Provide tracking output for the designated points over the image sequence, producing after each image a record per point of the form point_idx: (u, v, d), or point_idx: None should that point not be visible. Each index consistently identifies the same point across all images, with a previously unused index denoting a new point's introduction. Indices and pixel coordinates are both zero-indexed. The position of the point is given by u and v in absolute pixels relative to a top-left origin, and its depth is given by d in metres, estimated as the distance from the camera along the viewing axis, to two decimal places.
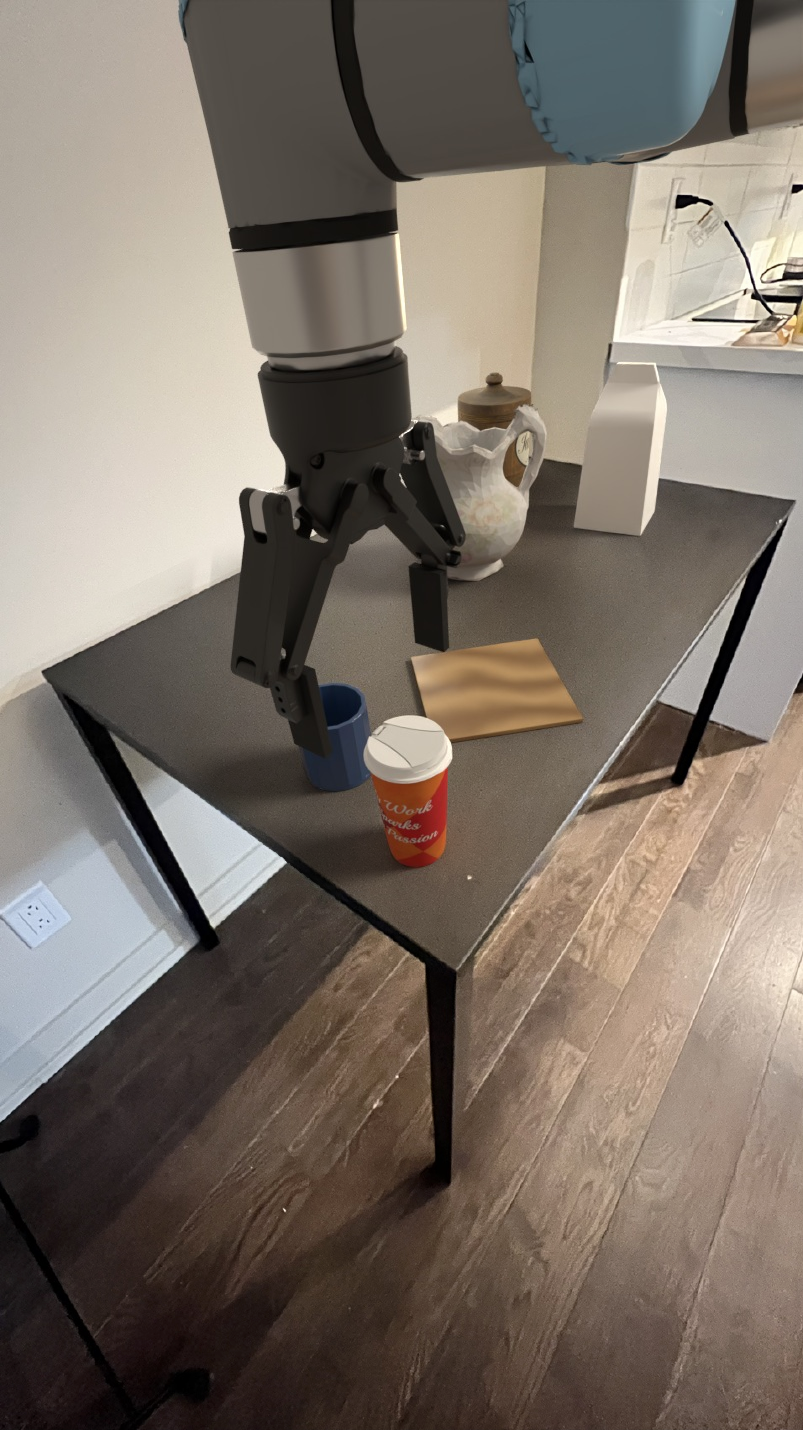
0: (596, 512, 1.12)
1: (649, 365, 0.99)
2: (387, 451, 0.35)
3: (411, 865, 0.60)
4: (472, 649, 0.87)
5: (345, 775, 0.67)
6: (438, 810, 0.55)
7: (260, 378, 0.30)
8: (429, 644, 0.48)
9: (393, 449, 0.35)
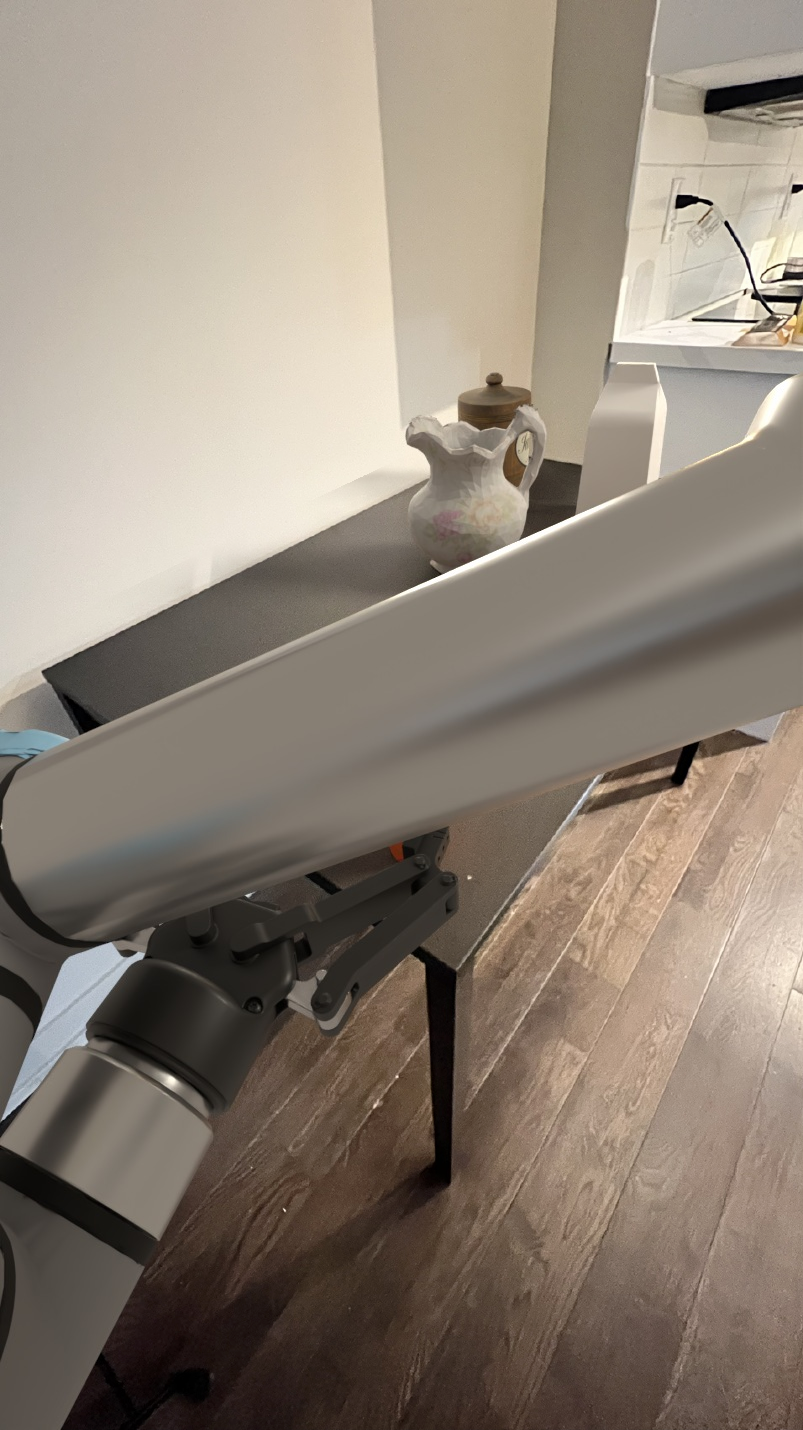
0: None
1: (649, 365, 0.99)
2: (173, 947, 0.31)
3: None
4: None
5: None
6: None
7: (228, 1110, 0.28)
8: None
9: (165, 943, 0.32)
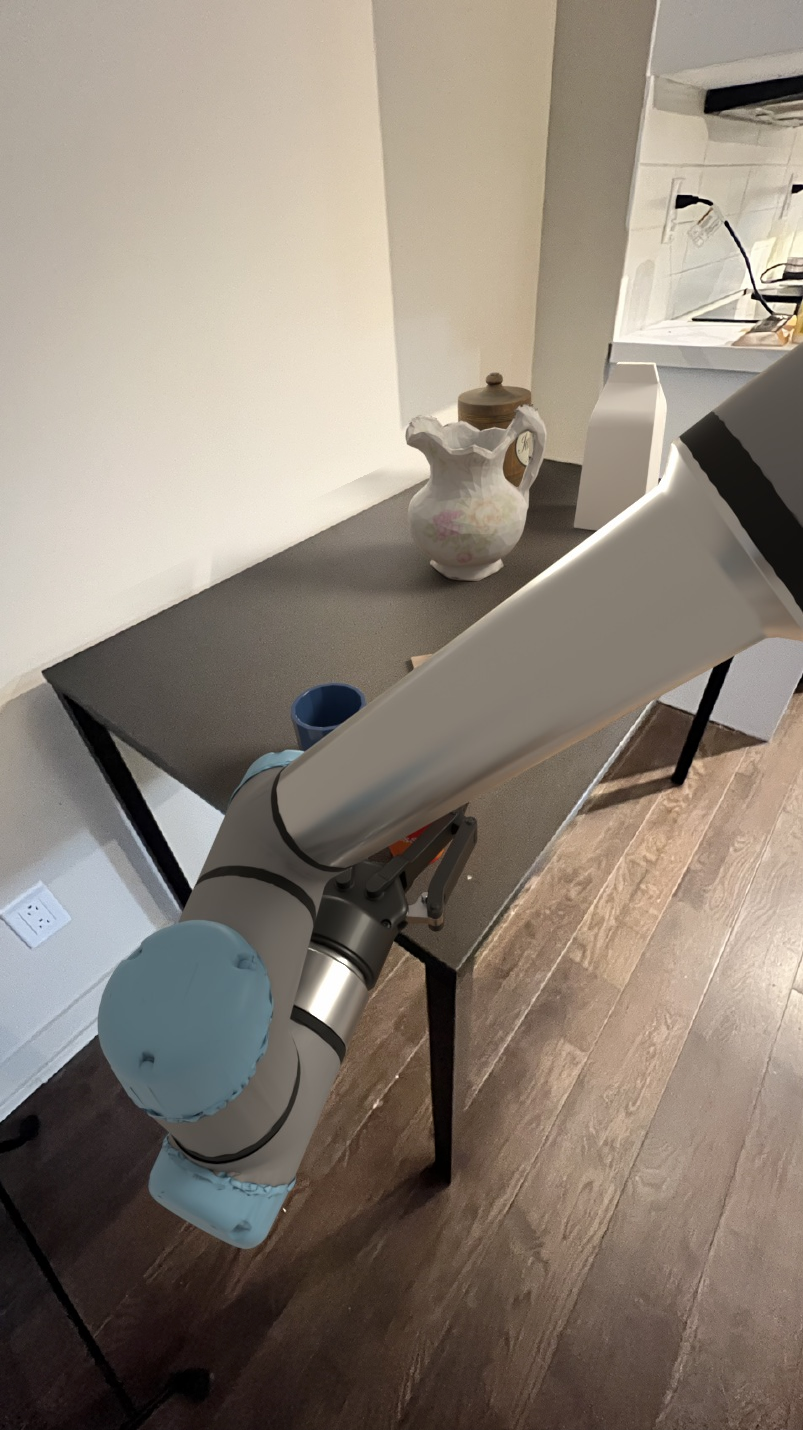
0: (596, 512, 1.12)
1: (649, 365, 0.99)
2: (326, 891, 0.48)
3: None
4: None
5: None
6: None
7: (372, 988, 0.45)
8: None
9: None
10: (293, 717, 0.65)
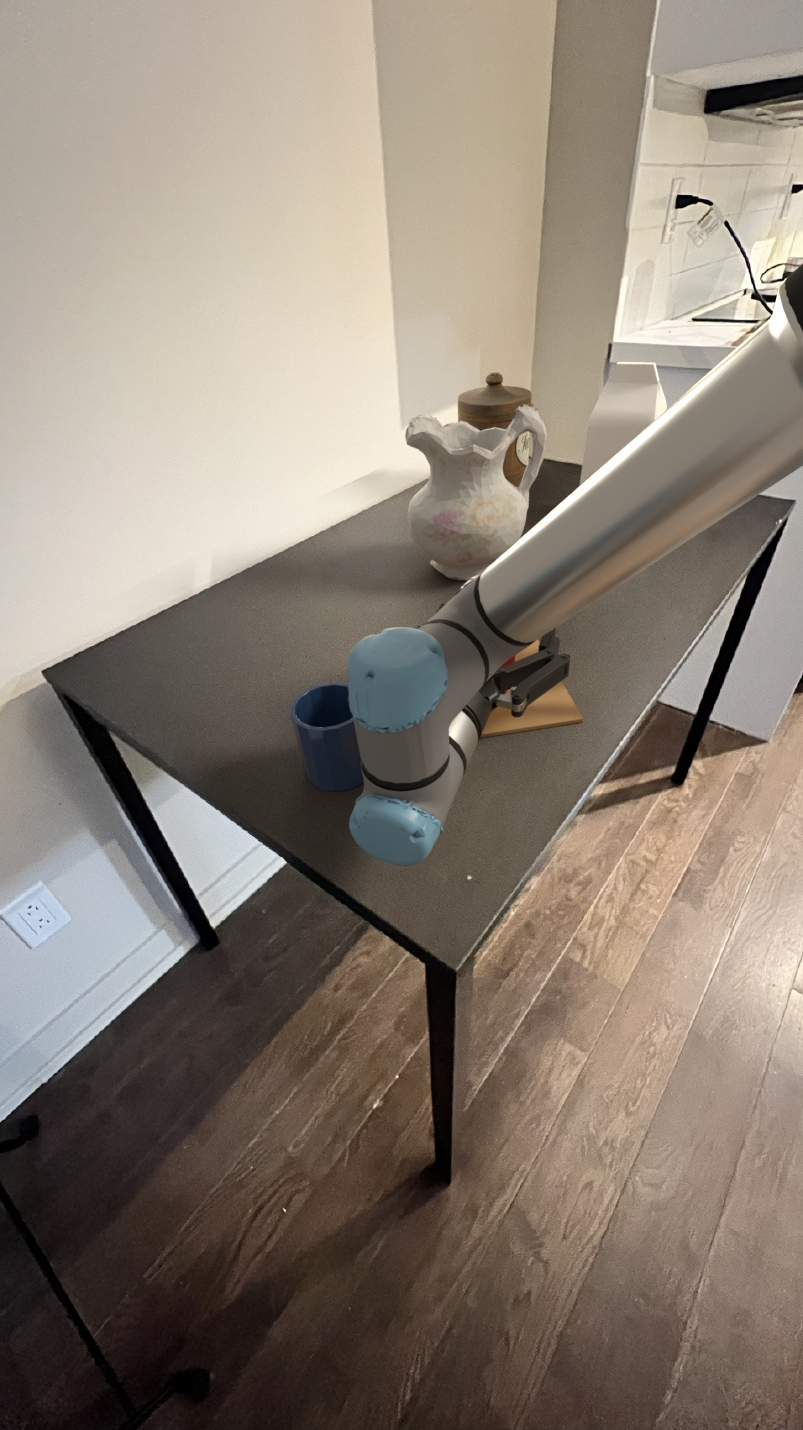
0: None
1: (649, 365, 0.99)
2: None
3: None
4: None
5: (345, 775, 0.67)
6: None
7: None
8: None
9: None
10: (293, 717, 0.65)
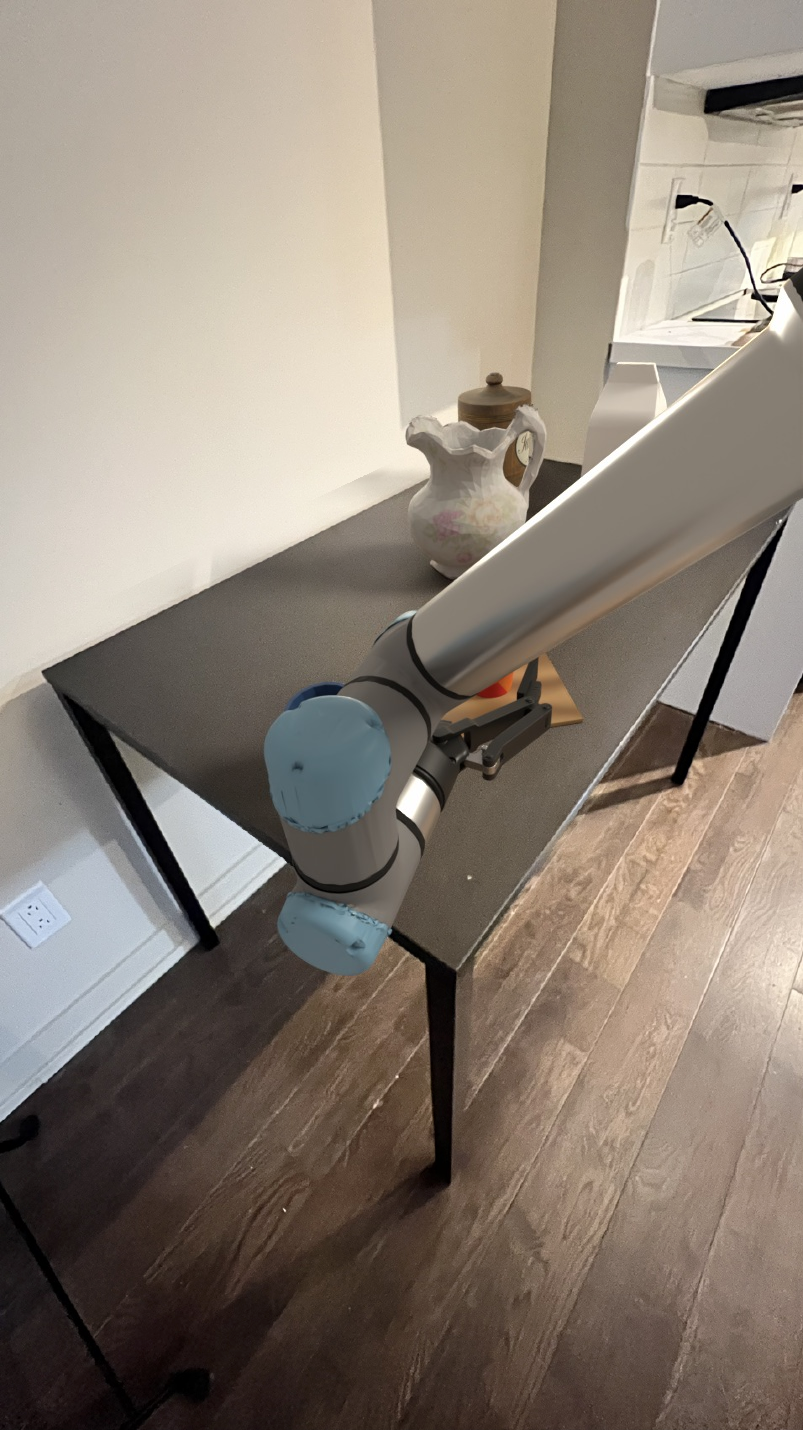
0: None
1: (649, 365, 0.99)
2: None
3: (487, 696, 0.78)
4: None
5: None
6: None
7: (440, 812, 0.54)
8: None
9: None
10: None
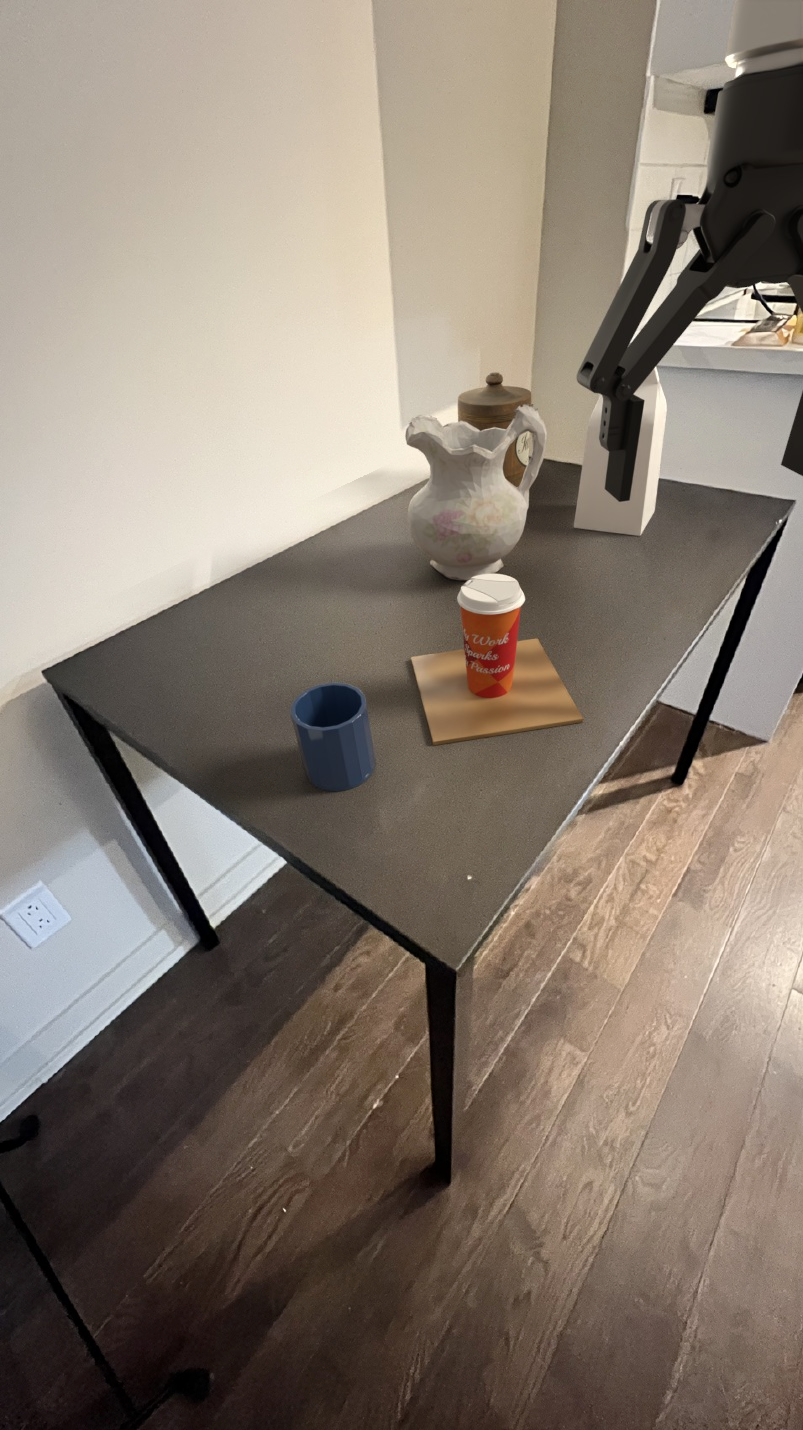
0: (596, 512, 1.12)
1: None
2: None
3: (487, 696, 0.78)
4: None
5: (345, 775, 0.67)
6: (511, 644, 0.73)
7: (719, 92, 0.33)
8: (793, 466, 0.45)
9: None
10: (293, 717, 0.65)
